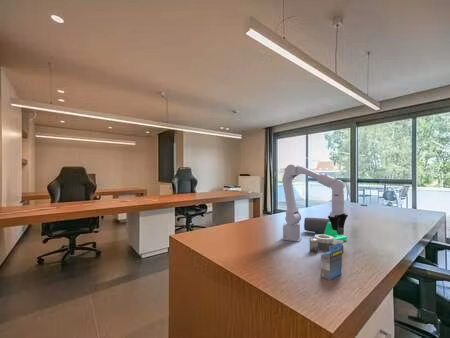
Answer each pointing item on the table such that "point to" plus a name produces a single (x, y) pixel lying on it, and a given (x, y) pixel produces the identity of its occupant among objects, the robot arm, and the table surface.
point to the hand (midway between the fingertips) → (338, 228)
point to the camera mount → (333, 233)
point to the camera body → (327, 242)
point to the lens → (313, 245)
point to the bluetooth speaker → (318, 225)
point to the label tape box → (332, 262)
